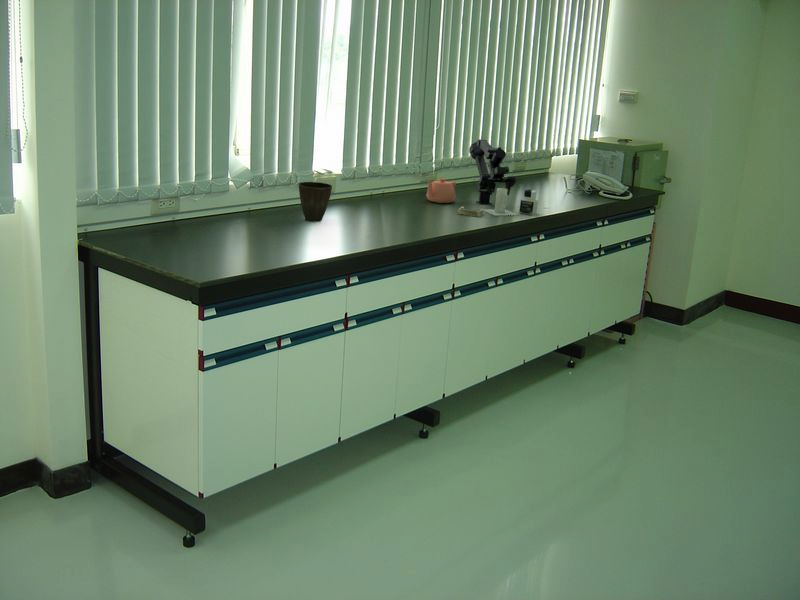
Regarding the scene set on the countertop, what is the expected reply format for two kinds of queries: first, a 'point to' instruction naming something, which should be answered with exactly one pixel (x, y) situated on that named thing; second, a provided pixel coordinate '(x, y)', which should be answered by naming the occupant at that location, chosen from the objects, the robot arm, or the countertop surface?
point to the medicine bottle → (529, 203)
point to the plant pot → (314, 199)
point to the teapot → (441, 191)
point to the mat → (491, 211)
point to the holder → (470, 212)
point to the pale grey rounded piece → (501, 200)
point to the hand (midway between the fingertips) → (499, 194)
